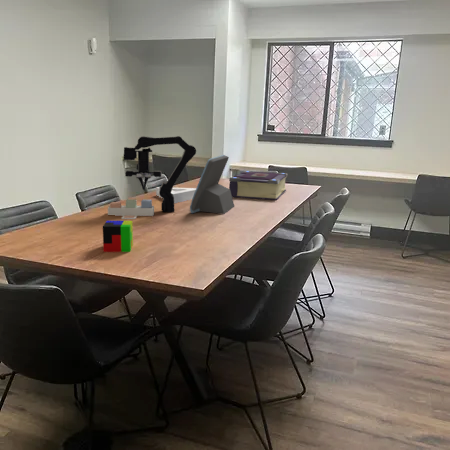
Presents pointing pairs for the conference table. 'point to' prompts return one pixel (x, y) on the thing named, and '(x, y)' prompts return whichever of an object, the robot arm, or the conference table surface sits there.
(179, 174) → the robot arm
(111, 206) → the terracotta key
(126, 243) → the puzzle toy
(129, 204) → the sage green key
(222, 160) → the touchscreen device
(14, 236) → the conference table surface
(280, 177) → the book
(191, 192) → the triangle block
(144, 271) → the conference table surface
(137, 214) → the key console
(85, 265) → the conference table surface
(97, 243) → the conference table surface
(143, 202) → the slate blue key
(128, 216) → the card
